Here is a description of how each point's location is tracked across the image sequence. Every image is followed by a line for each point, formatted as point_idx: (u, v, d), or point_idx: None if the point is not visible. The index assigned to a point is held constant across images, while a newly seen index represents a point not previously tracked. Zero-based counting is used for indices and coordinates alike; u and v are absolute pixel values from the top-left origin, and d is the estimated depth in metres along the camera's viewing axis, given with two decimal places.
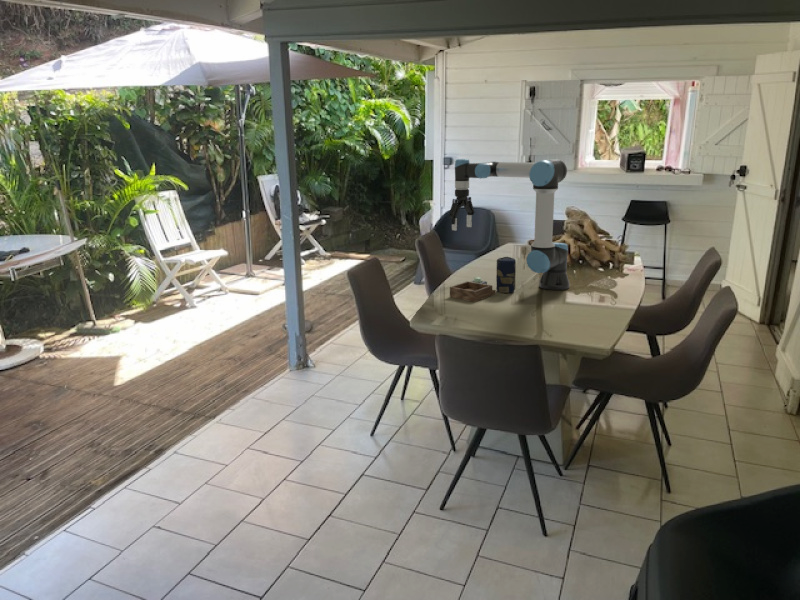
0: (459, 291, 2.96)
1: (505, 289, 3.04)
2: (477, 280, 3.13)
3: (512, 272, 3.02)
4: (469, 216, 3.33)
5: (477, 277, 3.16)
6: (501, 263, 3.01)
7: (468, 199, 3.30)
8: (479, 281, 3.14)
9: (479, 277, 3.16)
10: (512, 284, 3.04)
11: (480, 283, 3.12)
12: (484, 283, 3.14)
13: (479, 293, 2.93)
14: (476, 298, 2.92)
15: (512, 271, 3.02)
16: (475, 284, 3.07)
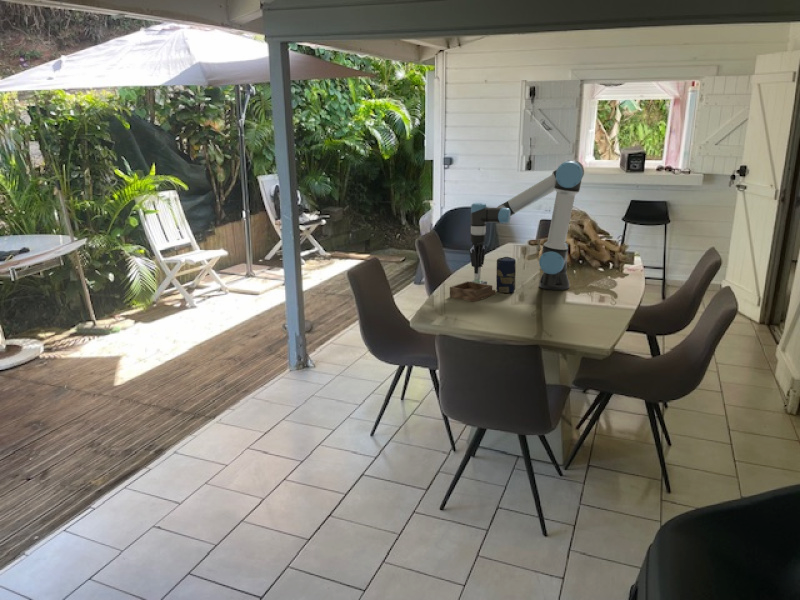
0: (459, 291, 2.96)
1: (505, 289, 3.04)
2: (477, 282, 3.13)
3: (512, 272, 3.02)
4: None
5: None
6: (501, 263, 3.01)
7: (483, 247, 3.14)
8: None
9: None
10: (512, 284, 3.04)
11: (480, 283, 3.12)
12: (484, 283, 3.14)
13: (479, 293, 2.93)
14: (476, 298, 2.92)
15: (512, 271, 3.02)
16: (475, 284, 3.07)
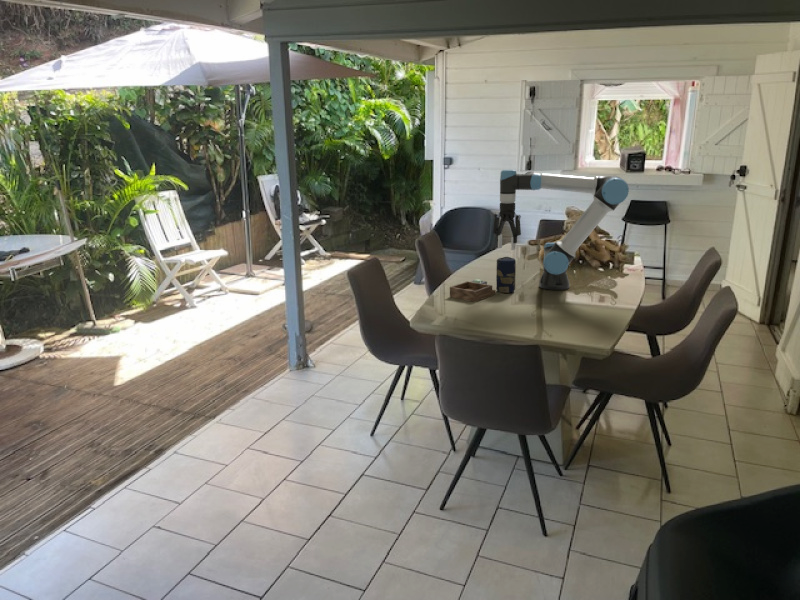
0: (459, 291, 2.96)
1: (505, 289, 3.04)
2: (477, 282, 3.13)
3: (512, 272, 3.02)
4: None
5: (477, 279, 3.16)
6: (501, 263, 3.01)
7: (516, 217, 2.95)
8: None
9: None
10: (512, 284, 3.04)
11: (480, 283, 3.12)
12: (484, 283, 3.14)
13: (479, 293, 2.93)
14: (476, 298, 2.92)
15: (512, 271, 3.02)
16: (475, 284, 3.07)
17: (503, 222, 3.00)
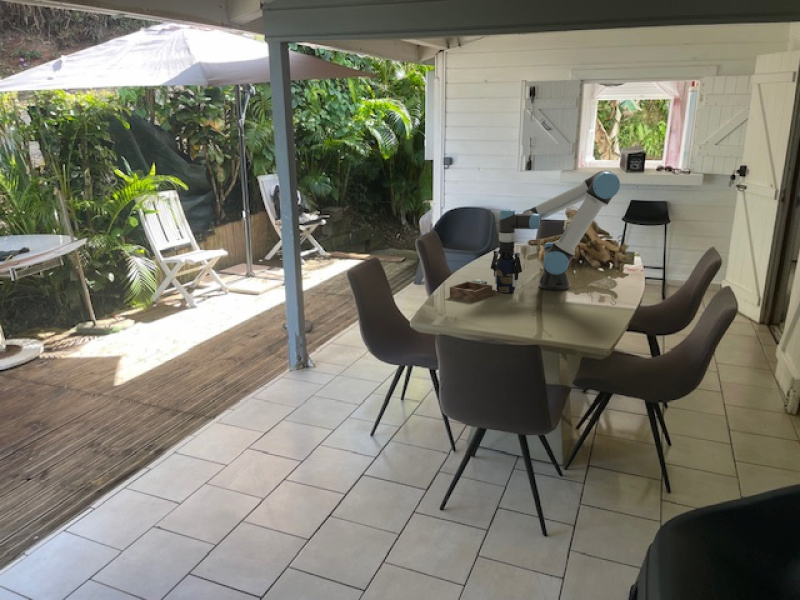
0: (459, 291, 2.96)
1: (505, 289, 3.04)
2: (477, 282, 3.13)
3: (512, 272, 3.02)
4: None
5: (477, 279, 3.16)
6: (501, 263, 3.01)
7: None
8: None
9: None
10: (512, 284, 3.04)
11: (480, 283, 3.12)
12: (484, 283, 3.14)
13: (479, 293, 2.93)
14: (476, 298, 2.92)
15: (512, 271, 3.02)
16: (475, 284, 3.07)
17: None
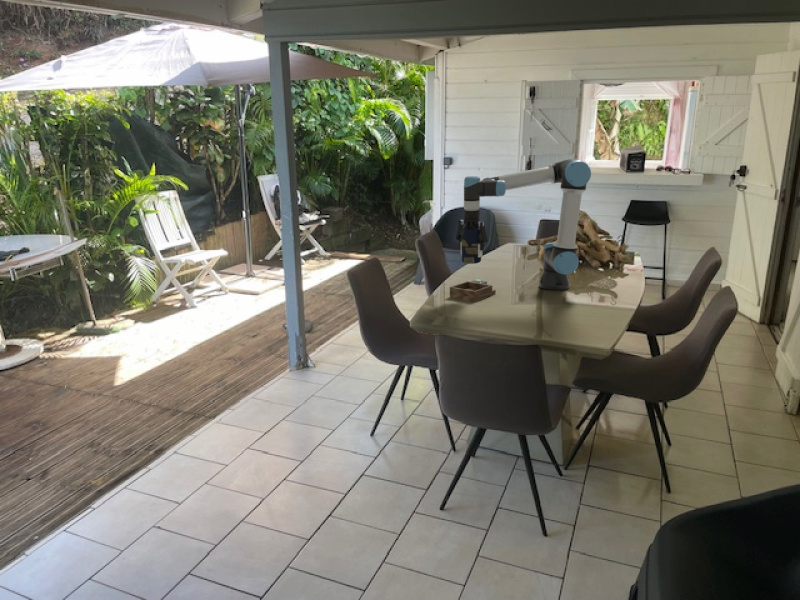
0: (459, 291, 2.96)
1: (470, 260, 2.92)
2: (477, 282, 3.13)
3: (477, 241, 2.91)
4: None
5: (477, 279, 3.16)
6: (465, 232, 2.90)
7: None
8: None
9: None
10: (477, 254, 2.92)
11: (480, 283, 3.12)
12: (484, 283, 3.14)
13: (479, 293, 2.93)
14: (476, 298, 2.92)
15: (477, 240, 2.90)
16: (475, 284, 3.07)
17: None
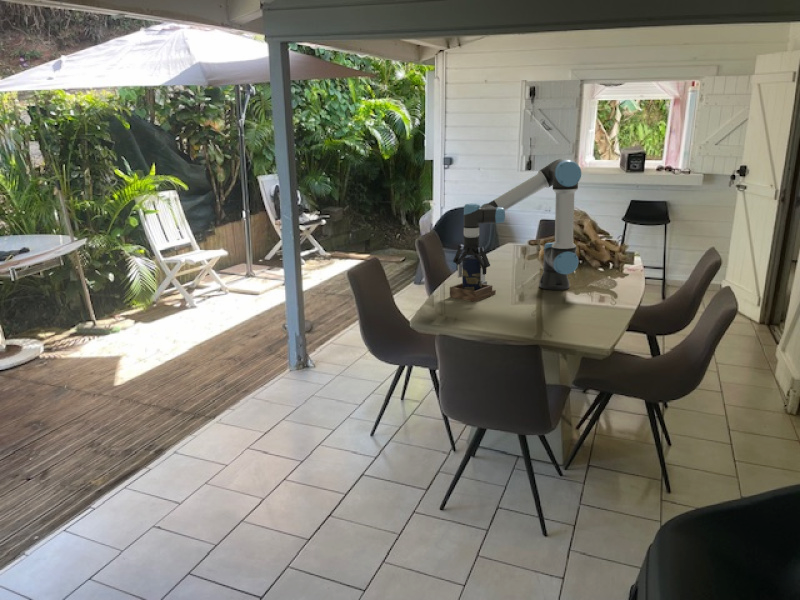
0: (459, 291, 2.96)
1: None
2: None
3: (477, 272, 2.94)
4: None
5: None
6: (466, 262, 2.94)
7: None
8: None
9: None
10: (477, 284, 2.96)
11: None
12: (484, 283, 3.14)
13: (479, 293, 2.93)
14: (476, 298, 2.92)
15: (477, 270, 2.94)
16: None
17: (465, 254, 2.98)
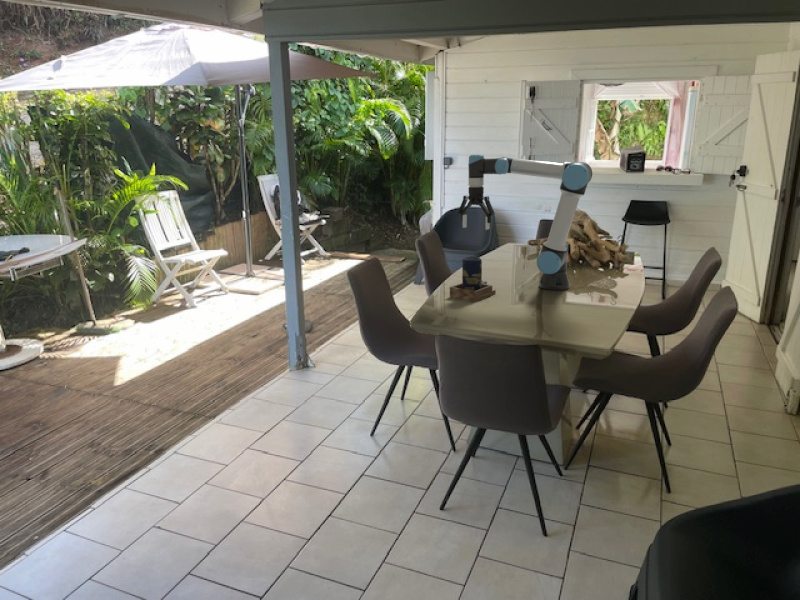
0: (459, 291, 2.96)
1: None
2: None
3: (477, 272, 2.94)
4: None
5: None
6: (466, 263, 2.94)
7: None
8: None
9: None
10: (477, 284, 2.96)
11: None
12: (484, 283, 3.14)
13: (479, 293, 2.93)
14: (476, 298, 2.92)
15: (477, 271, 2.94)
16: None
17: (470, 205, 3.10)
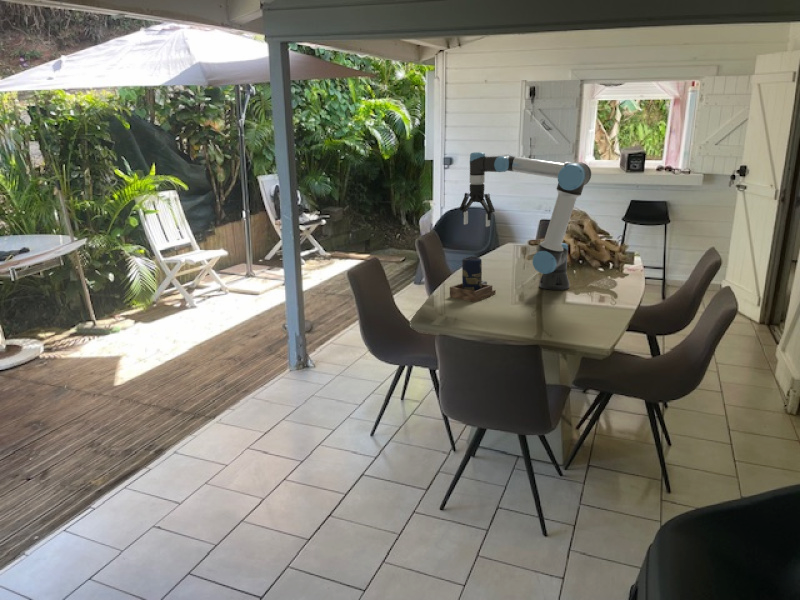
0: (459, 291, 2.96)
1: None
2: None
3: (477, 272, 2.94)
4: None
5: None
6: (466, 263, 2.94)
7: None
8: None
9: None
10: (477, 284, 2.96)
11: None
12: (484, 283, 3.14)
13: (479, 293, 2.93)
14: (476, 298, 2.92)
15: (477, 271, 2.94)
16: None
17: (471, 202, 3.14)
